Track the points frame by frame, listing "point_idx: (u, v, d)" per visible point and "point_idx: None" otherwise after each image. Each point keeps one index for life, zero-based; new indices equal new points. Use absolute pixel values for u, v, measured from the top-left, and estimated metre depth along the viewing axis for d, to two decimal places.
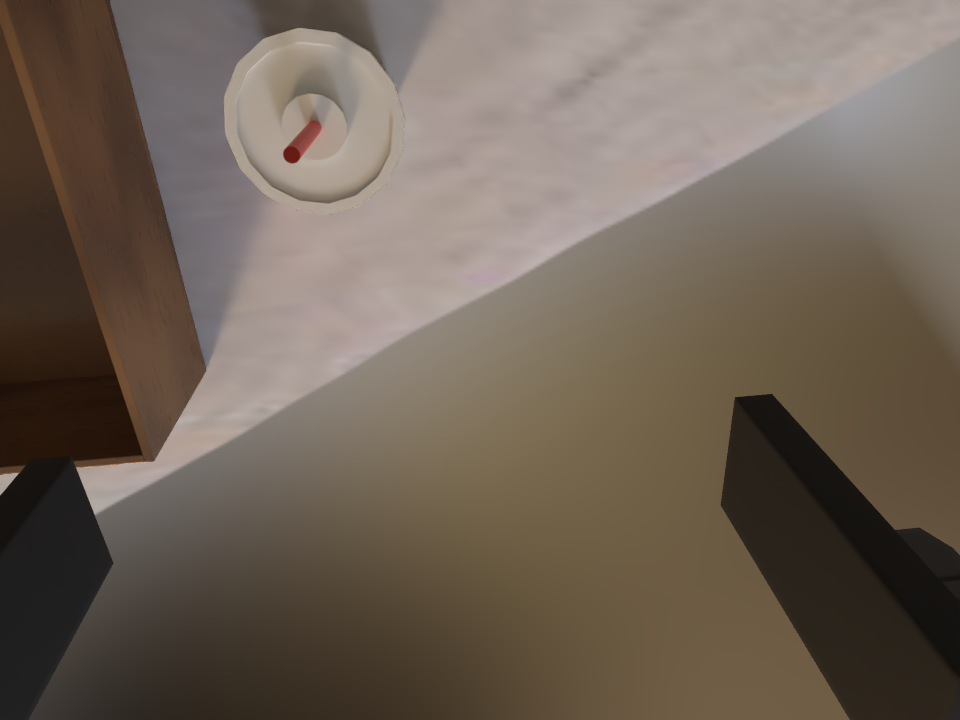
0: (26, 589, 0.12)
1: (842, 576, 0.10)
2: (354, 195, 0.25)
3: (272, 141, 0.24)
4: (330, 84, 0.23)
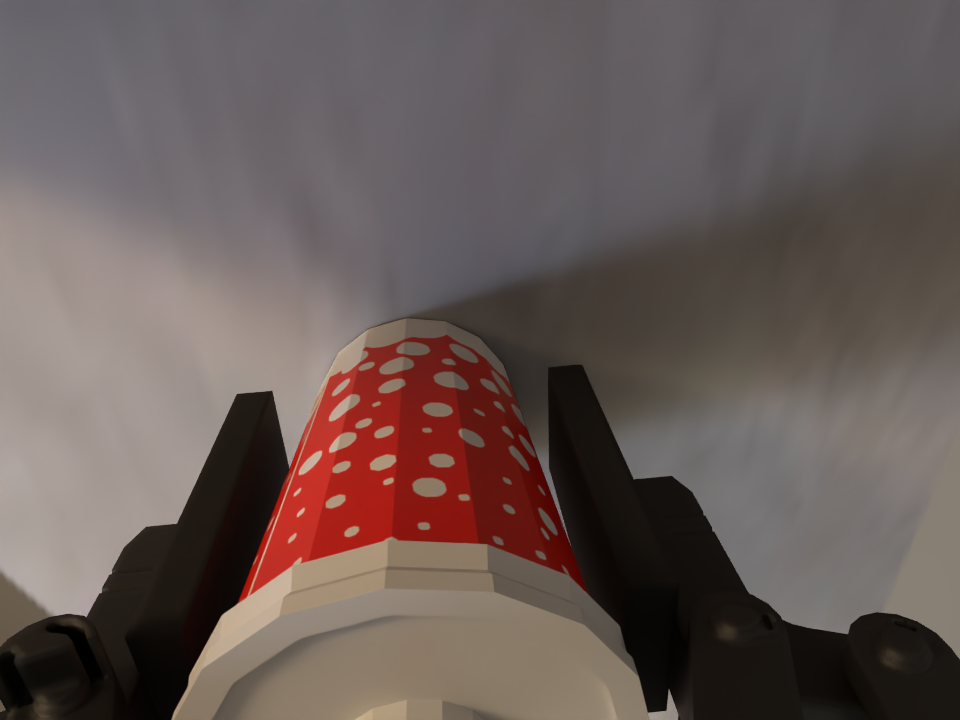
0: (258, 498, 0.13)
1: (588, 515, 0.12)
2: None
3: (369, 678, 0.08)
4: None
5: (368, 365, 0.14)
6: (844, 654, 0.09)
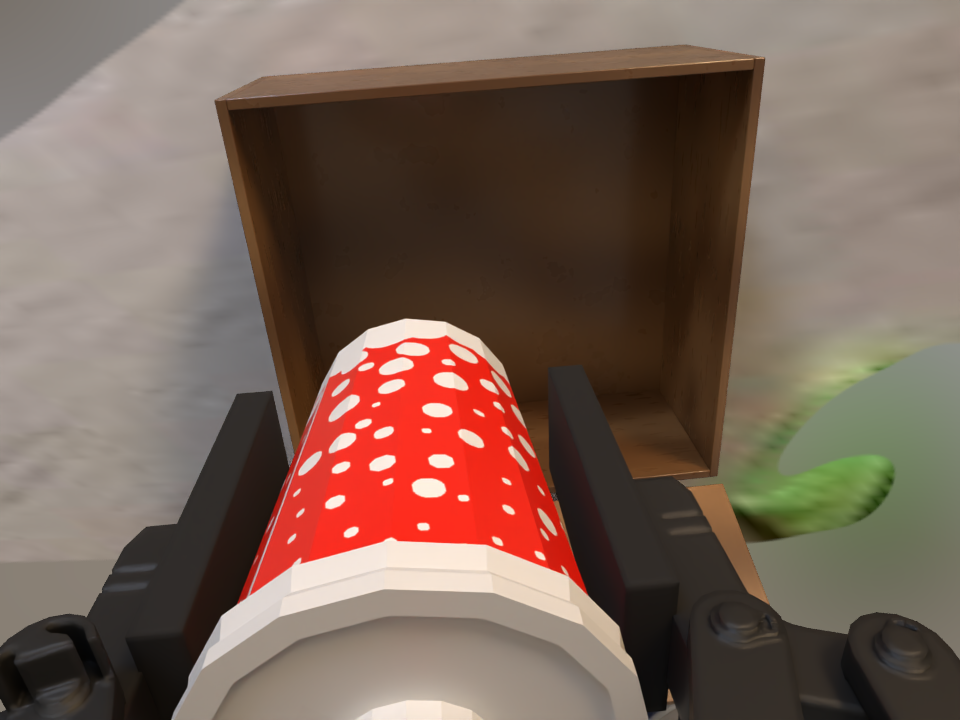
0: (258, 498, 0.13)
1: (588, 515, 0.12)
2: None
3: (368, 678, 0.08)
4: None
5: (367, 366, 0.14)
6: (844, 654, 0.09)
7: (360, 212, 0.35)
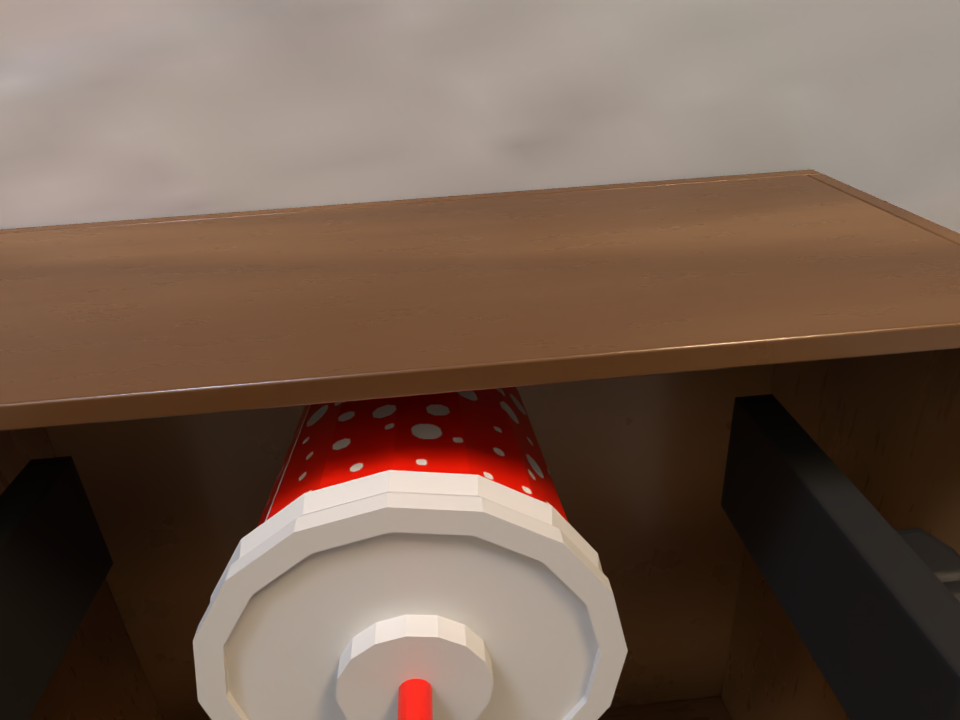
0: (26, 589, 0.12)
1: (842, 576, 0.10)
2: None
3: (373, 593, 0.09)
4: (506, 691, 0.10)
5: None
6: None
7: (187, 463, 0.19)
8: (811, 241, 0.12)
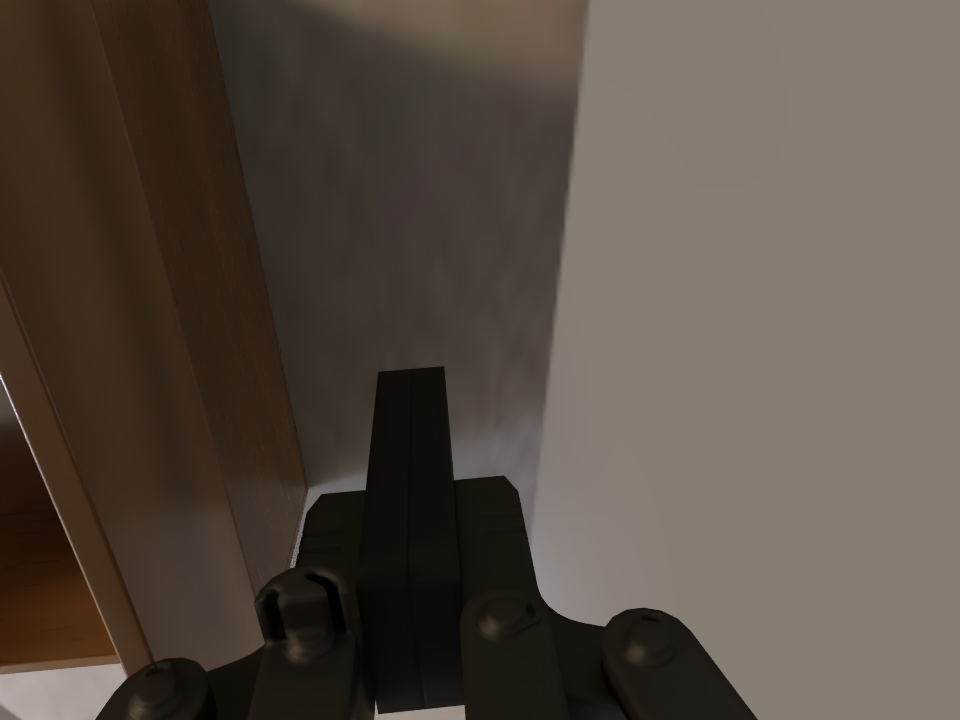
0: None
1: None
2: None
3: None
4: None
5: None
6: (601, 659, 0.09)
7: None
8: None
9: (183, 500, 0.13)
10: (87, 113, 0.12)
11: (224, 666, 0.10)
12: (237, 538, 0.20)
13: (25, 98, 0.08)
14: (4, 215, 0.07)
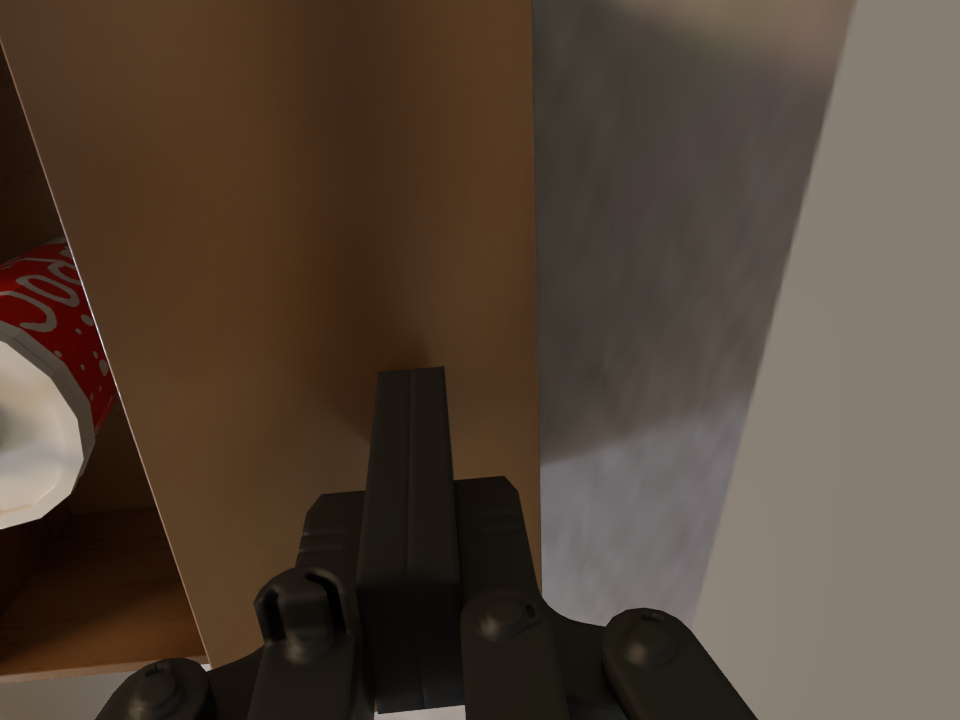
0: None
1: None
2: (29, 505, 0.18)
3: None
4: None
5: None
6: (602, 659, 0.09)
7: None
8: None
9: (341, 409, 0.16)
10: (379, 85, 0.13)
11: (224, 666, 0.10)
12: (539, 522, 0.20)
13: (190, 68, 0.12)
14: (71, 136, 0.12)
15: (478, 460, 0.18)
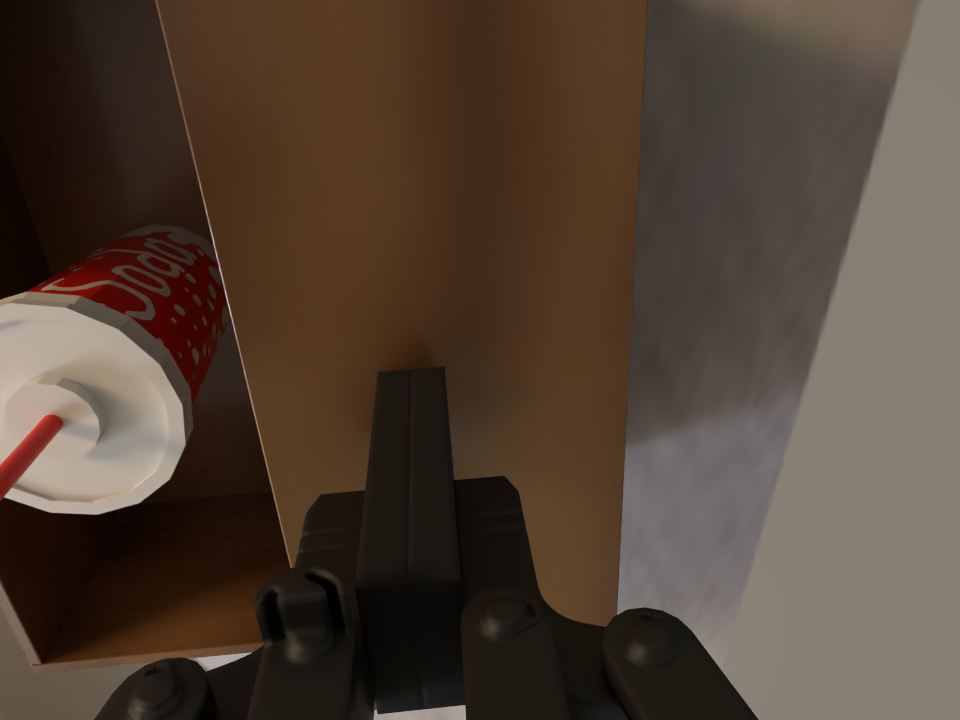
0: None
1: None
2: (128, 490, 0.18)
3: (1, 434, 0.17)
4: (71, 366, 0.17)
5: None
6: (602, 659, 0.09)
7: None
8: None
9: None
10: (499, 75, 0.14)
11: (224, 666, 0.10)
12: (620, 507, 0.20)
13: (328, 57, 0.13)
14: (219, 121, 0.13)
15: (567, 443, 0.18)
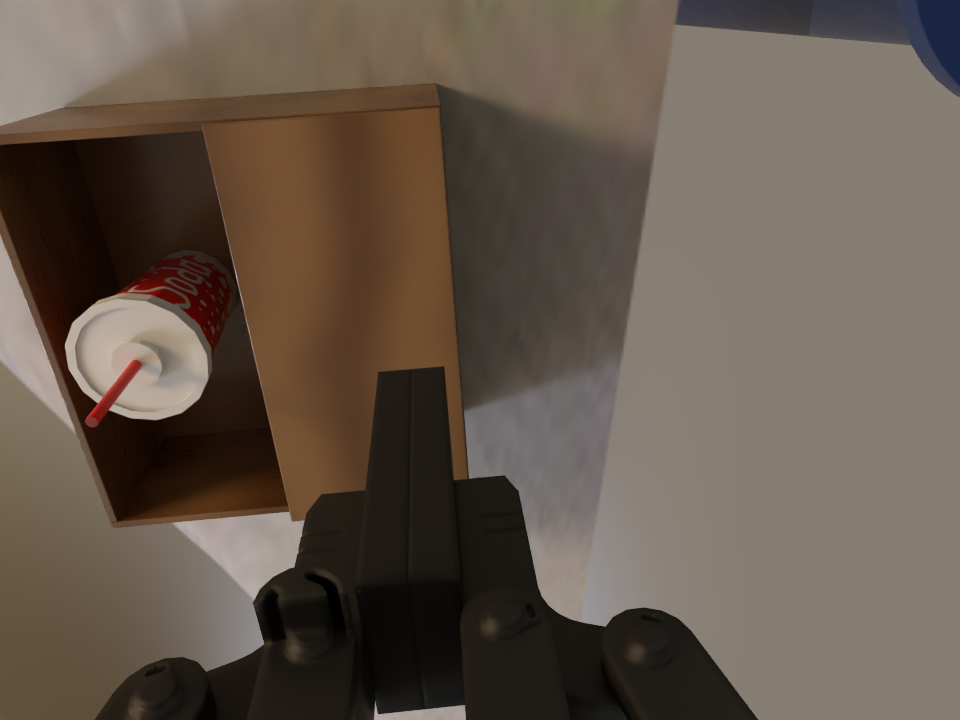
0: None
1: None
2: (175, 406, 0.33)
3: (106, 371, 0.31)
4: (146, 333, 0.31)
5: None
6: (602, 659, 0.09)
7: (255, 383, 0.42)
8: None
9: (346, 334, 0.32)
10: (365, 181, 0.29)
11: (224, 666, 0.10)
12: (461, 418, 0.34)
13: (281, 173, 0.28)
14: (233, 199, 0.28)
15: None
